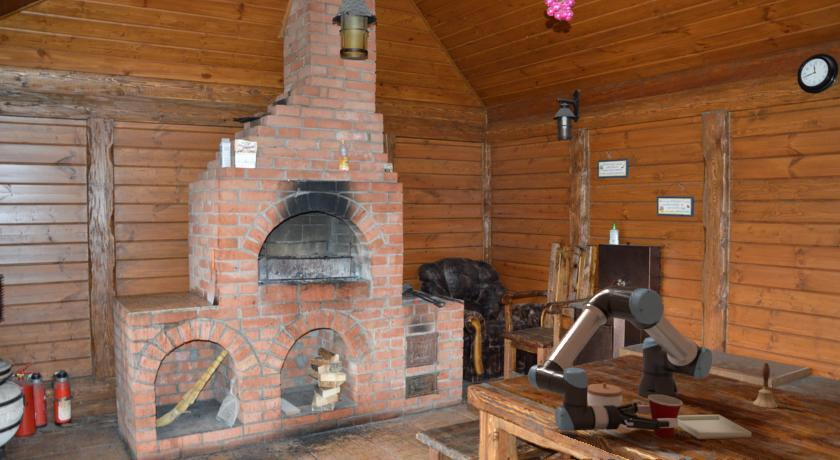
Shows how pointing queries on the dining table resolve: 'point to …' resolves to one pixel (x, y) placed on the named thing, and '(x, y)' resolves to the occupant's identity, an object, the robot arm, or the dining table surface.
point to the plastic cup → (664, 411)
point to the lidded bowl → (604, 395)
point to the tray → (711, 427)
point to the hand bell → (765, 391)
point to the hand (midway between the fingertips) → (666, 415)
